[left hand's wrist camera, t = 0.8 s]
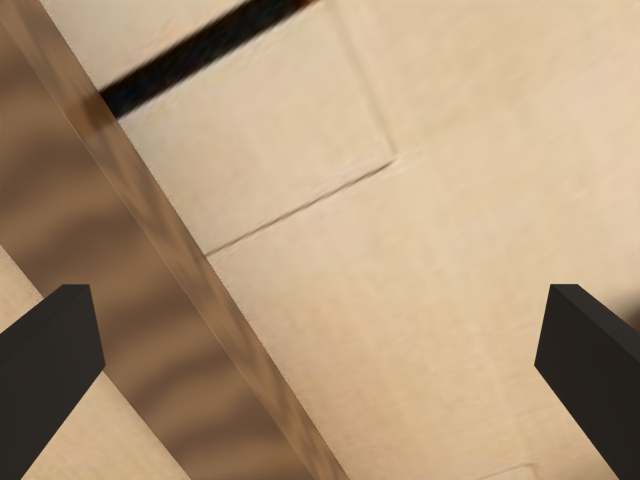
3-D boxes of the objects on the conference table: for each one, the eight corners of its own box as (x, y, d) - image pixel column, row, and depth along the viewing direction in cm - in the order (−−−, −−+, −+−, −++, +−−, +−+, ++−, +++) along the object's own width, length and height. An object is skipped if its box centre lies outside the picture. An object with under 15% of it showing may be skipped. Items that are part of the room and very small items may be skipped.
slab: (-241, -171, 29) (-393, -240, 22) (-131, -262, 27) (-262, -362, 21) (314, 566, 53) (313, 630, 46) (389, 540, 51) (398, 602, 45)
